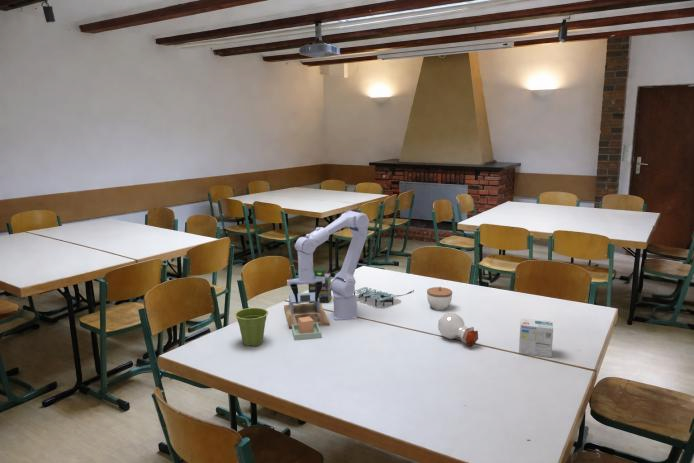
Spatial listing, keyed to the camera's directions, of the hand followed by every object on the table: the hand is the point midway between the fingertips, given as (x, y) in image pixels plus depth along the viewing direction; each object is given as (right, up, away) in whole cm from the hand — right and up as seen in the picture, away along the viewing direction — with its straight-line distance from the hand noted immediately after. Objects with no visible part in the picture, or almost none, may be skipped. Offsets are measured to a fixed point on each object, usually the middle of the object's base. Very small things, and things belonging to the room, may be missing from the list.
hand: (306, 301), depth 195 cm
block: (0, -11, -6) cm, 12 cm away
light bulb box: (+81, -15, -22) cm, 85 cm away
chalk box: (+4, -4, +32) cm, 32 cm away
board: (-1, -8, +11) cm, 14 cm away
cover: (-2, -5, +16) cm, 17 cm away
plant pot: (-19, -13, -13) cm, 26 cm away
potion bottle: (+56, -13, -12) cm, 59 cm away
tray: (0, -12, -6) cm, 13 cm away
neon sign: (+34, -3, +37) cm, 50 cm away
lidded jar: (+56, -6, +21) cm, 60 cm away
